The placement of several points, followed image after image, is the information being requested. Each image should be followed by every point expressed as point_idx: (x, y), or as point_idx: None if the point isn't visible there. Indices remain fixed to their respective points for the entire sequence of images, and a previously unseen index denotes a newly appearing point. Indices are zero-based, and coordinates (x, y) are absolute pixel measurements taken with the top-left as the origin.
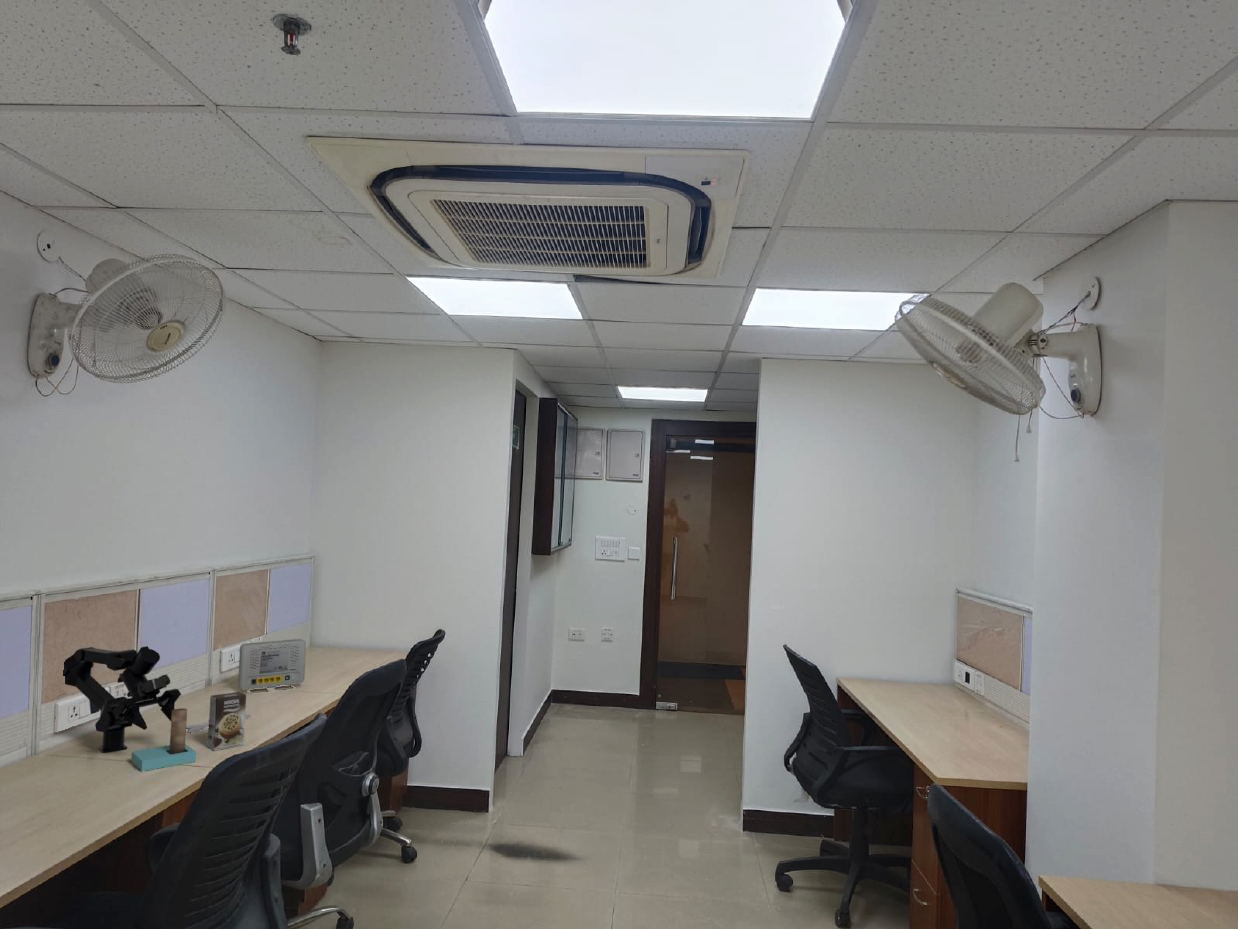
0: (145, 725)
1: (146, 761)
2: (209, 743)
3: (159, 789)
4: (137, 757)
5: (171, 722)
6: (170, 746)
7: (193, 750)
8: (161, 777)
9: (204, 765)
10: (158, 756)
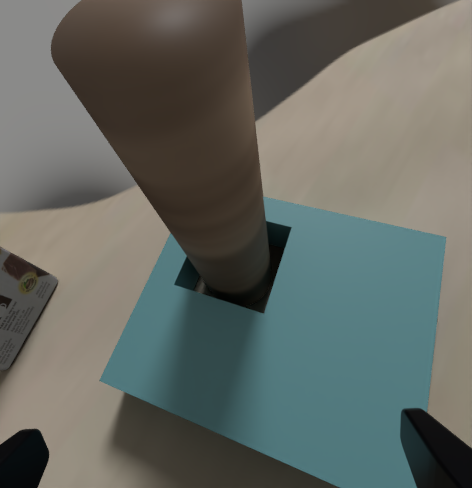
0: (435, 429)
1: (420, 235)
2: (9, 333)
3: (453, 52)
4: (432, 342)
5: (251, 151)
6: (267, 246)
7: None
8: (393, 141)
9: None
10: (347, 243)
